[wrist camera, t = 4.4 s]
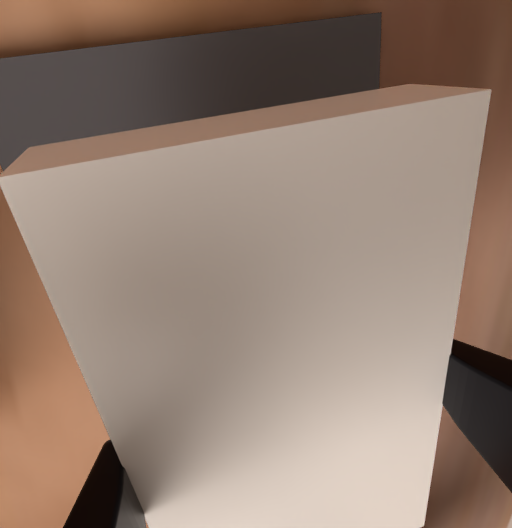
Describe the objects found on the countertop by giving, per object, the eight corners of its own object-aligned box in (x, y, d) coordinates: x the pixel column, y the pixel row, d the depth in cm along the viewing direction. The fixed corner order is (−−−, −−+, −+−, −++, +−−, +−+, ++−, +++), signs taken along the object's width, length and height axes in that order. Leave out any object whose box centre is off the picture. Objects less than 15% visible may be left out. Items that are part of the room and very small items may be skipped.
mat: (363, 403, 18) (369, 411, 18) (139, 482, 16) (140, 494, 15) (370, 14, 11) (381, 12, 10) (-35, 63, 9) (-43, 63, 8)
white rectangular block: (385, 467, 14) (424, 525, 12) (182, 548, 12) (192, 627, 10) (409, 83, 8) (491, 88, 6) (29, 147, 6) (-4, 178, 5)
